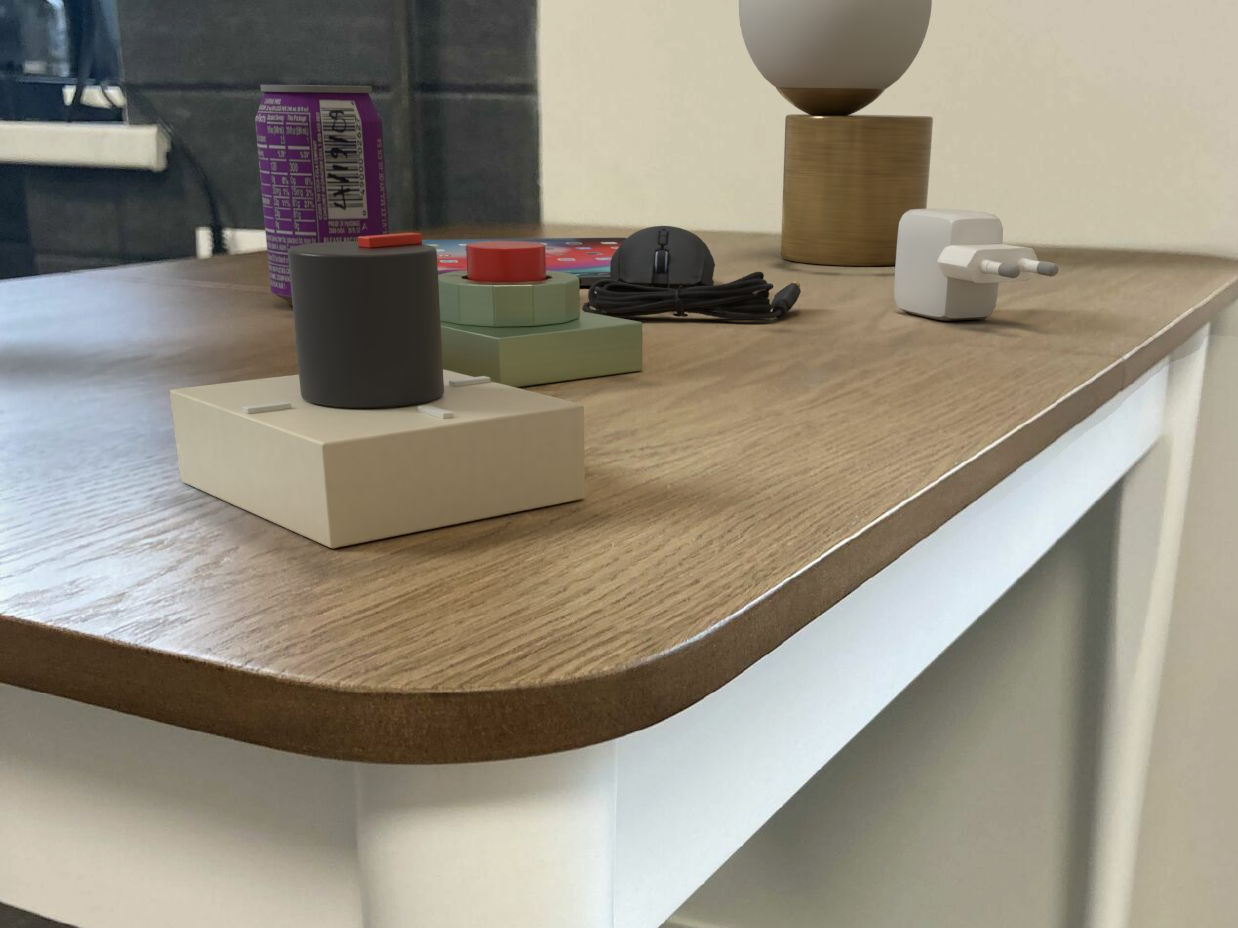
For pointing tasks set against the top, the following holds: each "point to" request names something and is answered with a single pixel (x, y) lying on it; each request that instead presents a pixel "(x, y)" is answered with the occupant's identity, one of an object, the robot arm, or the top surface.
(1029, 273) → the power adapter
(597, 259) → the tablet
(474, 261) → the power button
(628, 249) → the computer mouse
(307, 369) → the knob
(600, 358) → the switch block
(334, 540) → the control box
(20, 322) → the top surface
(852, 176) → the lamp
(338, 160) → the beverage can
